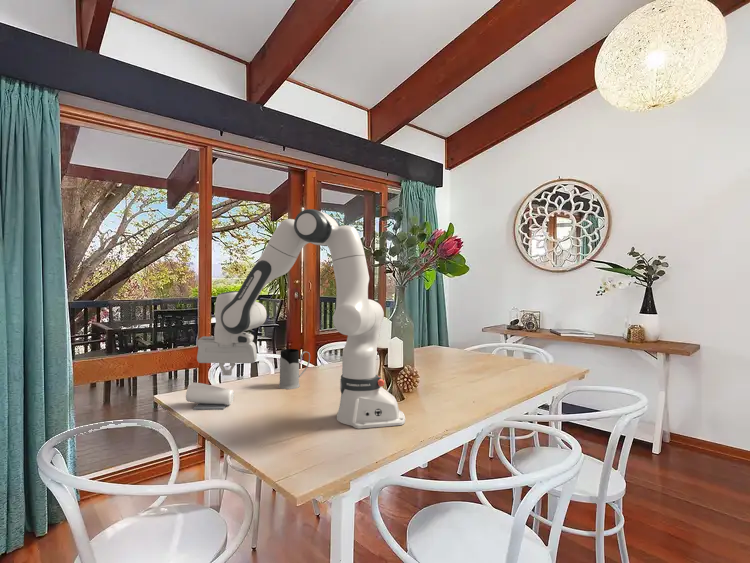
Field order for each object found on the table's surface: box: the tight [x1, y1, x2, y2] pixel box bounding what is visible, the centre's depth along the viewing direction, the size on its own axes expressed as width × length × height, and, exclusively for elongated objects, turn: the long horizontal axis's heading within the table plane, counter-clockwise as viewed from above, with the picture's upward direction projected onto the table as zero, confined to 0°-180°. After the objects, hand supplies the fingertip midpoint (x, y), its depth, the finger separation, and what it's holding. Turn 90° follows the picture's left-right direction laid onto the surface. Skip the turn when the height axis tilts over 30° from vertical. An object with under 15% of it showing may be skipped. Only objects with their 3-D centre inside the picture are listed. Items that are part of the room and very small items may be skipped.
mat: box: [192, 403, 228, 411], centre depth 151 cm, size 10×12×1 cm
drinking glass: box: [185, 381, 235, 406], centre depth 149 cm, size 7×7×15 cm
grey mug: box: [278, 348, 311, 390], centre depth 177 cm, size 9×14×15 cm, turn 131°
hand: (227, 375), depth 151 cm, fingers closed
